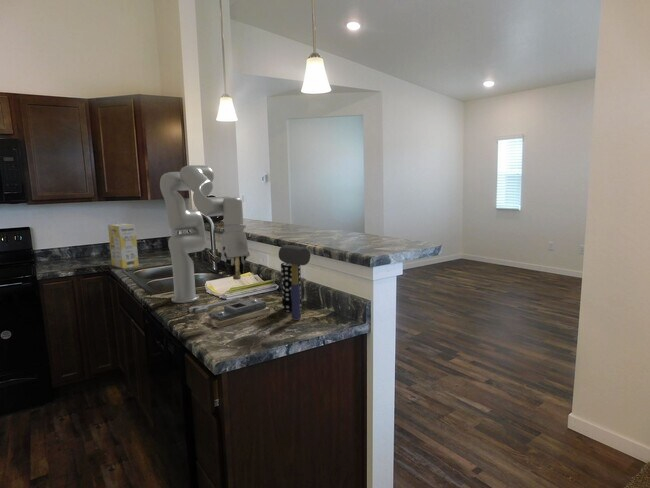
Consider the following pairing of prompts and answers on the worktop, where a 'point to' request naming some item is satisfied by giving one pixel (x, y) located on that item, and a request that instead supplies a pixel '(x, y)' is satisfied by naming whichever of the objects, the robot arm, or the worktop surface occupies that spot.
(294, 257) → the rubber mallet
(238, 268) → the brass pin
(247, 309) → the pegged base plate
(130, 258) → the pasta box
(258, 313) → the oak jig
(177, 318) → the worktop surface
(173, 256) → the robot arm
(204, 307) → the adjustable wrench
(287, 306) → the spotted tube
